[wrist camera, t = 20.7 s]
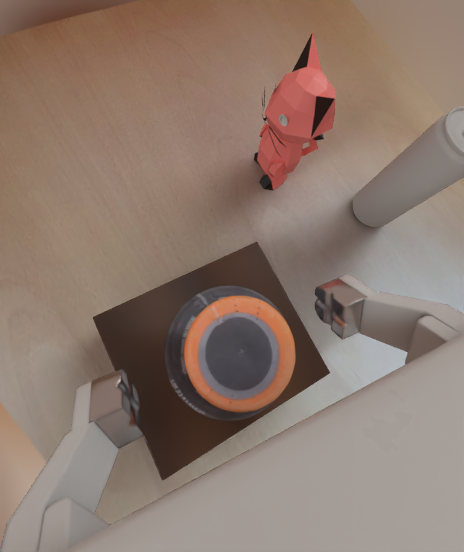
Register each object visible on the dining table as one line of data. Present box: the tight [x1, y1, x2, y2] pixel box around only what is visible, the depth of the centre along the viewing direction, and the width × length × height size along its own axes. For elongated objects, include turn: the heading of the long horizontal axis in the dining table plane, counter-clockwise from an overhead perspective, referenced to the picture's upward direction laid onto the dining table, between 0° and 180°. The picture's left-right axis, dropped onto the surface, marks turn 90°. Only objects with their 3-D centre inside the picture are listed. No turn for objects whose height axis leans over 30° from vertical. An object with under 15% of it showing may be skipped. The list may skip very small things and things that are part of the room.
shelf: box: [93, 242, 330, 480], centre depth 22 cm, size 14×12×5 cm
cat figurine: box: [254, 33, 336, 190], centre depth 25 cm, size 7×7×12 cm
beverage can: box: [353, 107, 464, 227], centre depth 25 cm, size 5×5×12 cm
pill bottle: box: [164, 286, 296, 421], centre depth 15 cm, size 6×6×11 cm
